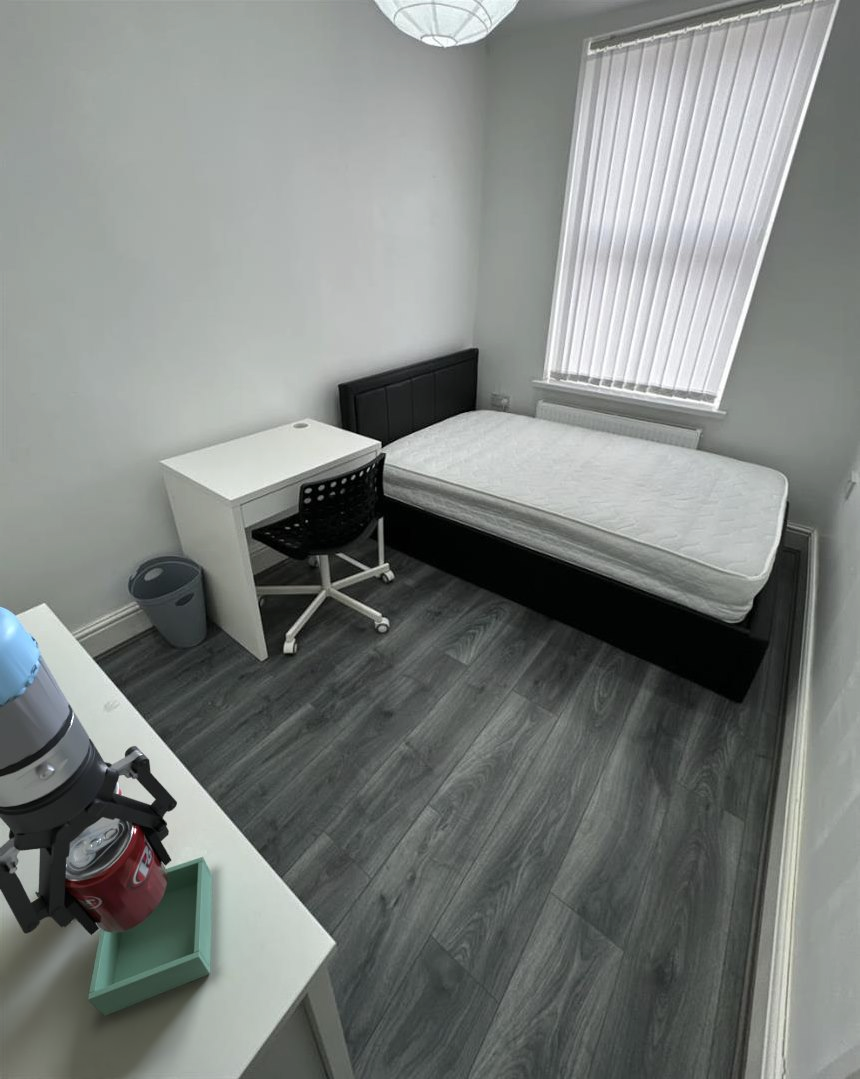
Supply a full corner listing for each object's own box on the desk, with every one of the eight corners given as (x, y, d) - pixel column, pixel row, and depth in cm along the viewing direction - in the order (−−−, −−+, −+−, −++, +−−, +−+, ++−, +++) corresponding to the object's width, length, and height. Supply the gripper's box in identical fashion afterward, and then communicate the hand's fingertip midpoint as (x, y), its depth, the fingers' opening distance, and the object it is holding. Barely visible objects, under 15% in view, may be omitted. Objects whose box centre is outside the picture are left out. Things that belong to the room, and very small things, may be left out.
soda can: (103, 953, 50) (56, 903, 43) (90, 890, 54) (47, 837, 48) (176, 901, 54) (144, 848, 47) (159, 847, 58) (128, 792, 52)
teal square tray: (122, 906, 64) (108, 887, 61) (212, 875, 67) (203, 856, 64) (105, 1015, 55) (87, 1000, 52) (210, 973, 58) (198, 956, 55)
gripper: (-109, 912, 32) (37, 1016, 44) (177, 708, 46) (227, 831, 58) (-136, 841, 35) (6, 956, 48) (137, 672, 49) (192, 795, 62)
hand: (127, 887), depth 53 cm, fingers closed on soda can, 7 cm apart
